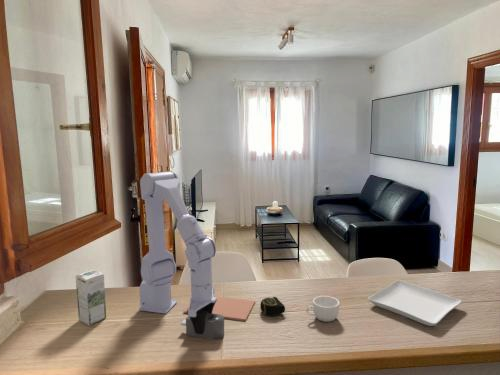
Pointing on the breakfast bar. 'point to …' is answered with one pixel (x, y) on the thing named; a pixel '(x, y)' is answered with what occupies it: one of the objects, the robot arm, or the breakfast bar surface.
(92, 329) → the breakfast bar surface
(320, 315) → the teacup
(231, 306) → the rubber mat
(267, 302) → the tape measure
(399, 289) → the salad plate
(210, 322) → the grey round-top block
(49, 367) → the breakfast bar surface
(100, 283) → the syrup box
